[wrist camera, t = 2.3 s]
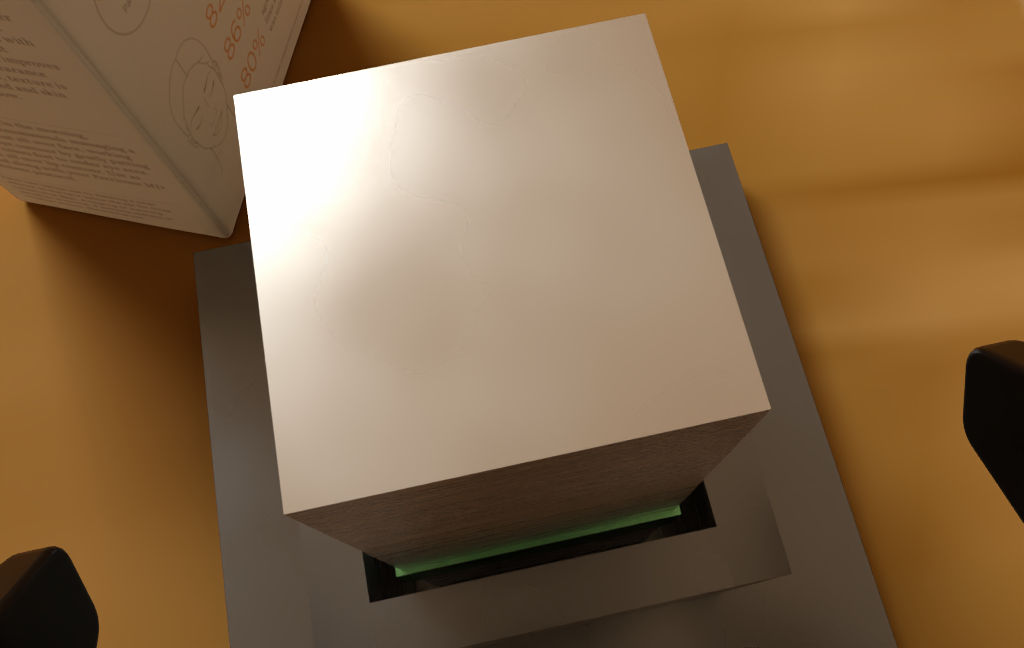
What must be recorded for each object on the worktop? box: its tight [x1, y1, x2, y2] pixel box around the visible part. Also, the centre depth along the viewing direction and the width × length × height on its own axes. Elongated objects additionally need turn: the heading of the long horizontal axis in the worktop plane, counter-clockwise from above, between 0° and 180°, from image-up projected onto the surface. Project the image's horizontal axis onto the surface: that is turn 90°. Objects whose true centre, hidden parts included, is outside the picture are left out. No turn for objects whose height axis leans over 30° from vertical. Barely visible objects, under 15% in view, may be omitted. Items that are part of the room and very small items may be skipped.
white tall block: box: [234, 13, 771, 586], centre depth 12 cm, size 4×4×10 cm
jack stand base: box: [193, 143, 897, 648], centre depth 16 cm, size 12×12×6 cm
